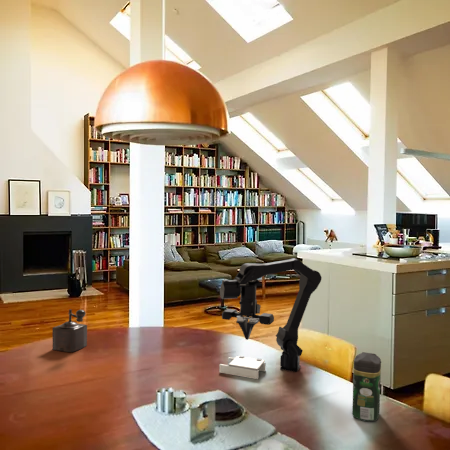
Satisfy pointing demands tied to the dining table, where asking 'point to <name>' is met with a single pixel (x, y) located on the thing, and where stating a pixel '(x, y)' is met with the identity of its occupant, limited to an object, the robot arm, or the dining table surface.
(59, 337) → the manual coffee grinder
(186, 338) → the dining table surface
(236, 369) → the white channel bracket
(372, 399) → the coffee jar
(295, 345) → the robot arm
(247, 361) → the cover
